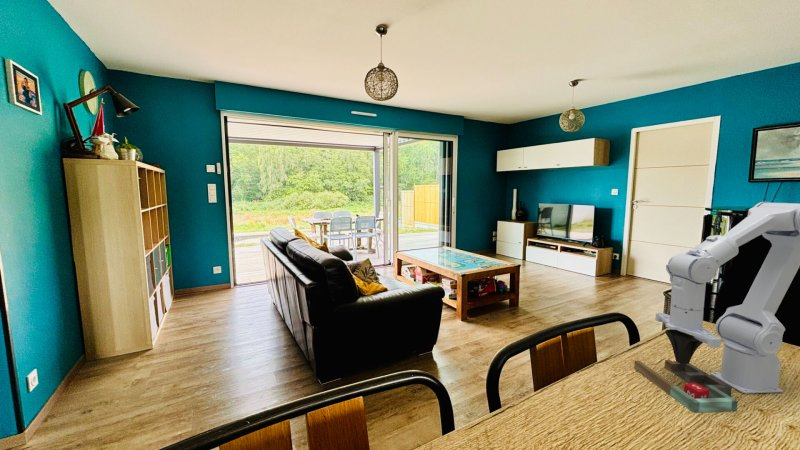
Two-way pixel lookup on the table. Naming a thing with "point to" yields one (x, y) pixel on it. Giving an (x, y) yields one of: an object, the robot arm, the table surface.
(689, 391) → the red letter block
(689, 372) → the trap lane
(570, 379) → the table surface
